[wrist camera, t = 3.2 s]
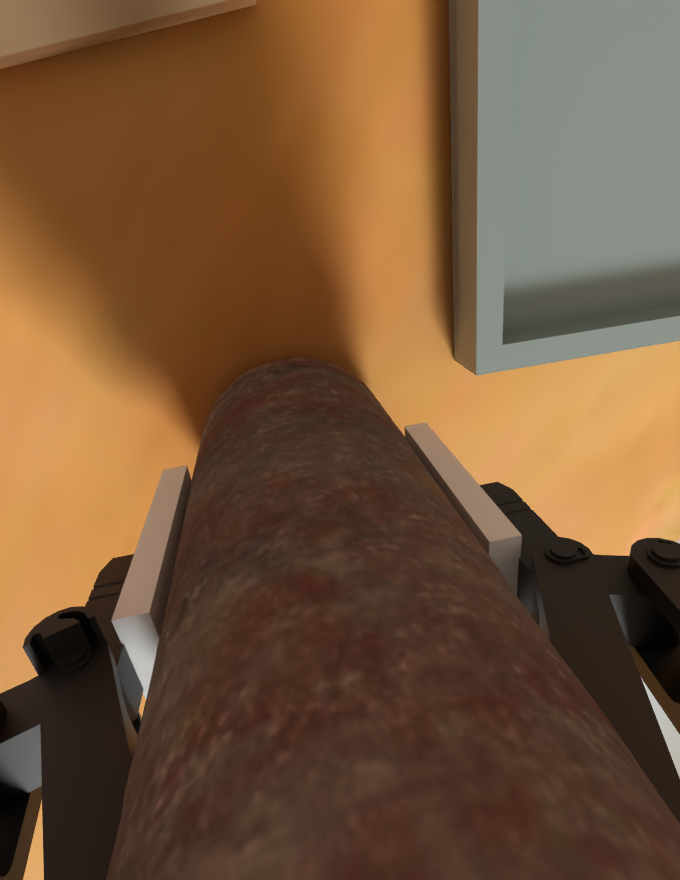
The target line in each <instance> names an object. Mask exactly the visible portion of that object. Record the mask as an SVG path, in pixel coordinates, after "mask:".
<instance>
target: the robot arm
mask: <svg viewBox="0 0 680 880" xmlns="http://www.w3.org/2000/svg"><path fill="white" fill-rule="evenodd" d="M405 438H406V440H407V441H408V443H409V444H410V446H411V448H412V449H413V450H414V452H415V453H416V455H417V456H418V457H419V459H420V460H421V462H422V463H423V464H424V466H425V467H426V469H427V470H428V471H429V473H430V474H431V476H432V477H433V479H434V480H435V481H436V483H437V484H438V486H439V487H440V488H441V489H442V491H443V492H444V493H445V495H446V496H447V498H448V499H449V501H450V502H451V504H452V506H453V507H454V508H455V510H456V511H457V512H458V513H459V515H460V516H461V517H462V519H463V520H464V521H465V522H466V524H467V525H468V527H469V528H470V529H471V531H472V532H473V534H474V535H475V536H476V538H477V539H478V541H479V542H480V544H481V545H482V546H483V548H484V549H485V551H486V552H487V553H488V555H489V556H490V558H491V559H492V560H493V562H494V563H495V565H496V566H497V567H498V569H499V570H500V572H501V573H502V575H503V576H504V578H505V579H506V581H507V582H508V584H509V585H510V587H511V589H512V590H513V591H514V593H515V594H516V596H517V597H518V598H519V600H520V601H521V603H522V604H523V605H524V607H525V608H526V610H527V611H528V612H529V614H530V615H531V617H532V618H533V619H534V621H535V622H536V624H537V625H538V626H539V628H540V629H541V630H542V632H543V633H544V634H545V636H546V637H547V638H548V640H549V641H550V643H551V644H552V645H553V647H554V648H555V649H556V651H557V652H558V653H559V655H560V656H561V657H562V659H563V660H564V661H565V663H566V664H567V665H568V667H569V668H570V669H571V670H572V672H573V673H574V674H575V676H576V677H577V678H578V680H579V681H580V682H581V684H582V685H583V686H584V688H585V689H586V690H587V692H588V693H589V694H590V696H591V697H592V698H593V700H594V701H595V702H596V704H597V705H598V706H599V708H600V709H601V710H602V712H603V713H604V715H605V716H606V718H607V719H608V720H609V722H610V723H611V725H612V726H613V727H614V729H615V730H616V732H617V733H618V735H619V736H620V737H621V739H622V740H623V742H624V743H625V745H626V746H627V747H628V749H629V750H630V752H631V753H632V755H633V756H634V758H635V760H636V761H637V763H638V764H639V766H640V767H641V769H642V770H643V772H644V773H645V775H646V776H647V778H648V779H649V781H650V782H651V783H652V785H653V786H654V788H655V789H656V791H657V792H658V793H659V795H660V796H661V798H662V799H663V801H664V802H665V804H666V805H667V806H668V808H669V809H670V811H671V812H672V814H673V815H674V816H675V818H676V819H677V821H678V822H679V824H680V779H679V776H678V773H677V771H676V768H675V766H674V763H673V760H672V758H671V755H670V752H669V750H668V747H667V745H666V742H665V739H664V737H663V734H662V732H661V729H660V726H659V724H658V721H657V719H656V716H655V713H654V711H653V708H652V706H651V703H650V701H649V698H648V695H647V693H646V690H645V687H644V685H643V682H642V679H643V681H644V682H645V684H646V685H647V687H648V688H649V690H650V691H651V693H652V694H653V696H654V697H655V699H656V700H657V702H658V703H659V704H660V706H661V707H662V709H663V710H664V712H665V713H666V715H667V716H668V718H669V719H670V721H671V722H672V724H673V725H674V726H675V728H676V730H677V731H678V732H679V734H680V544H679V543H676V542H674V541H670V540H666V539H661V538H645V539H642V540H638V541H636V542H635V543H634V544H633V545H632V546H631V552H630V556H610V555H594V554H592V552H591V551H590V549H589V548H587V547H586V546H584V545H583V544H582V543H580V542H577V541H575V540H572V539H569V538H563V537H558V536H557V535H556V534H555V533H554V532H553V531H552V530H551V529H550V528H549V527H548V526H547V525H546V524H545V523H544V522H543V520H542V519H541V518H540V517H539V516H538V515H537V514H536V513H535V512H534V511H533V510H531V509H530V507H529V506H528V505H527V504H526V503H525V502H523V501H522V499H521V498H520V497H519V496H518V495H517V493H516V492H515V491H514V490H513V489H511V488H509V487H507V486H505V485H503V484H501V483H499V482H494V483H489V484H484V485H479V484H478V483H477V482H476V481H475V480H474V478H473V477H472V476H471V475H470V474H469V473H468V471H467V470H466V469H465V468H464V467H463V465H462V464H461V463H460V462H459V461H458V460H457V458H456V457H455V456H454V455H453V454H452V453H451V451H450V450H449V449H448V448H447V447H446V446H445V444H444V443H443V442H442V441H441V440H440V439H439V437H438V436H437V435H436V434H435V433H434V431H433V430H432V429H431V428H430V427H429V426H428V424H427V423H421V424H415V425H409V426H405ZM191 482H192V481H191V478H190V474H189V471H188V467H187V466H181V467H175V468H170V469H164V470H163V472H162V475H161V478H160V481H159V484H158V487H157V490H156V492H155V495H154V498H153V501H152V504H151V507H150V510H149V513H148V516H147V519H146V521H145V524H144V527H143V530H142V533H141V536H140V539H139V542H138V545H137V547H136V550H135V553H134V554H132V555H127V556H122V557H117V558H113V559H112V560H111V561H110V562H109V563H108V564H107V565H106V566H105V567H104V568H103V569H102V570H101V571H100V573H99V575H98V577H97V580H96V582H95V584H94V589H93V590H92V591H91V594H90V596H89V598H88V599H89V601H87V603H86V606H85V607H83V606H81V607H70V608H67V609H63V610H60V611H58V612H56V613H54V614H52V615H50V616H48V617H46V618H45V619H43V620H42V621H41V622H40V623H38V624H37V625H36V626H35V627H34V628H33V629H32V630H31V631H30V633H29V634H28V635H27V637H26V638H25V641H24V645H23V649H24V650H25V652H26V654H27V656H28V657H29V659H30V661H31V663H32V665H33V666H34V668H35V670H36V672H37V673H38V675H39V676H37V677H35V678H33V679H31V680H29V681H27V682H25V683H23V684H21V685H18V686H16V687H14V688H12V689H10V690H7V691H5V692H3V693H1V694H0V880H23V877H24V872H25V868H26V864H27V860H28V855H29V851H30V847H31V843H32V838H33V834H34V830H35V826H36V821H37V817H38V813H39V809H40V804H41V800H42V813H43V853H44V880H106V878H107V874H108V870H109V866H110V862H111V857H112V853H113V849H114V845H115V841H116V837H117V833H118V829H119V824H120V820H121V814H122V807H123V800H124V793H125V789H126V784H127V780H128V776H129V771H130V767H131V763H132V758H133V754H134V750H135V745H136V741H137V737H138V733H139V729H140V725H141V720H142V718H141V716H140V713H139V707H140V703H141V698H142V694H144V696H145V699H146V698H147V694H148V689H149V685H150V680H151V676H152V671H153V666H154V662H155V657H156V651H157V646H158V643H159V639H160V635H161V631H162V626H163V620H164V615H165V610H166V605H167V601H168V597H169V592H170V586H171V580H172V574H173V570H174V566H175V561H176V556H177V551H178V546H179V541H180V537H181V533H182V529H183V523H184V517H185V511H186V506H187V502H188V497H189V493H190V487H191ZM640 676H641V677H640ZM641 678H642V679H641Z"/></svg>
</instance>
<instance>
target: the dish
mask: <svg viewBox="0 0 680 880" xmlns="http://www.w3.org/2000/svg"><path fill="white" fill-rule="evenodd" d="M449 49H450V116H451V183H452V249H453V316H454V360H455V361H456V362H458V363H459V364H461V365H462V366H464V367H465V368H466V369H468V370H469V371H471V372H472V373H474V374H475V375H482V374H488V373H493V372H499V371H505V370H511V369H517V368H523V367H529V366H534V365H540V364H546V363H552V362H558V361H564V360H569V359H575V358H581V357H587V356H593V355H599V354H605V353H610V352H616V351H622V350H628V349H634V348H640V347H645V346H651V345H657V344H663V343H669V342H675V341H680V0H449Z"/></svg>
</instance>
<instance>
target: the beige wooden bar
mask: <svg viewBox="0 0 680 880" xmlns="http://www.w3.org/2000/svg"><path fill="white" fill-rule="evenodd" d="M254 5H256V0H0V69H3V68H7V67H11V66H15V65H19V64H22V63H26V62H30V61H34V60H38V59H42V58H46V57H50V56H54V55H58V54H62V53H66V52H70V51H74V50H78V49H82V48H86V47H90V46H94V45H98V44H102V43H106V42H110V41H114V40H118V39H122V38H126V37H130V36H134V35H138V34H142V33H146V32H150V31H154V30H158V29H162V28H166V27H170V26H174V25H178V24H182V23H186V22H190V21H194V20H198V19H202V18H206V17H210V16H214V15H218V14H222V13H226V12H230V11H234V10H238V9H242V8H246V7H250V6H254Z"/></svg>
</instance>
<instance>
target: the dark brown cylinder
mask: <svg viewBox="0 0 680 880" xmlns="http://www.w3.org/2000/svg"><path fill="white" fill-rule="evenodd" d="M106 880H680V824H679V822H678V821H677V819H676V818H675V816H674V815H673V814H672V812H671V811H670V809H669V808H668V806H667V805H666V804H665V802H664V801H663V799H662V798H661V796H660V795H659V793H658V792H657V791H656V789H655V788H654V786H653V785H652V783H651V782H650V781H649V779H648V778H647V776H646V775H645V773H644V772H643V770H642V769H641V767H640V766H639V764H638V763H637V761H636V760H635V758H634V756H633V755H632V753H631V752H630V750H629V749H628V747H627V746H626V745H625V743H624V742H623V740H622V739H621V737H620V736H619V735H618V733H617V732H616V730H615V729H614V727H613V726H612V725H611V723H610V722H609V720H608V719H607V718H606V716H605V715H604V713H603V712H602V710H601V709H600V708H599V706H598V705H597V704H596V702H595V701H594V700H593V698H592V697H591V696H590V694H589V693H588V692H587V690H586V689H585V688H584V686H583V685H582V684H581V682H580V681H579V680H578V678H577V677H576V676H575V674H574V673H573V672H572V670H571V669H570V668H569V667H568V665H567V664H566V663H565V661H564V660H563V659H562V657H561V656H560V655H559V653H558V652H557V651H556V649H555V648H554V647H553V645H552V644H551V643H550V641H549V640H548V638H547V637H546V636H545V634H544V633H543V632H542V630H541V629H540V628H539V626H538V625H537V624H536V622H535V621H534V619H533V618H532V617H531V615H530V614H529V612H528V611H527V610H526V608H525V607H524V605H523V604H522V603H521V601H520V600H519V598H518V597H517V596H516V594H515V593H514V591H513V590H512V589H511V587H510V585H509V584H508V582H507V581H506V579H505V578H504V576H503V575H502V573H501V572H500V570H499V569H498V567H497V566H496V565H495V563H494V562H493V560H492V559H491V558H490V556H489V555H488V553H487V552H486V551H485V549H484V548H483V546H482V545H481V544H480V542H479V541H478V539H477V538H476V536H475V535H474V534H473V532H472V531H471V529H470V528H469V527H468V525H467V524H466V522H465V521H464V520H463V519H462V517H461V516H460V515H459V513H458V512H457V511H456V510H455V508H454V507H453V506H452V504H451V502H450V501H449V499H448V498H447V496H446V495H445V493H444V492H443V491H442V489H441V488H440V487H439V486H438V484H437V483H436V481H435V480H434V479H433V477H432V476H431V474H430V473H429V471H428V470H427V469H426V467H425V466H424V464H423V463H422V462H421V460H420V459H419V457H418V456H417V455H416V453H415V452H414V450H413V449H412V448H411V446H410V444H409V443H408V441H407V440H406V438H405V437H404V435H403V434H402V432H401V431H400V430H399V429H398V427H397V426H396V425H395V423H394V422H393V421H392V419H391V418H390V416H389V415H388V414H387V413H386V411H385V410H384V408H383V407H382V405H381V404H380V403H379V401H378V400H377V399H376V398H375V396H374V395H373V394H372V393H371V391H370V390H369V389H368V387H367V386H366V385H365V384H364V383H363V382H361V381H360V380H358V379H357V378H356V377H355V376H353V375H352V374H350V373H349V372H347V371H346V370H344V369H343V368H341V367H339V366H336V365H334V364H332V363H329V362H326V361H322V360H319V359H315V358H311V357H306V358H298V357H294V358H291V359H279V360H276V361H273V362H270V363H266V364H264V365H261V366H258V367H255V368H253V369H251V370H249V371H247V372H245V373H243V374H241V375H240V376H239V377H238V378H237V379H235V380H234V381H233V382H232V383H231V384H230V385H229V386H228V387H227V388H226V389H225V390H224V391H223V392H222V393H221V394H220V395H219V397H218V398H217V399H216V401H215V402H214V404H213V405H212V407H211V409H210V412H209V414H208V416H207V420H206V424H205V428H204V431H203V434H202V438H201V442H200V447H199V451H198V455H197V460H196V465H195V469H194V473H193V477H192V482H191V487H190V493H189V497H188V502H187V506H186V511H185V517H184V523H183V529H182V533H181V537H180V541H179V546H178V551H177V556H176V561H175V566H174V570H173V574H172V580H171V586H170V592H169V597H168V601H167V605H166V610H165V615H164V620H163V626H162V631H161V635H160V639H159V643H158V646H157V651H156V657H155V662H154V666H153V671H152V676H151V680H150V685H149V689H148V694H147V698H146V703H145V707H144V711H143V716H142V720H141V725H140V729H139V733H138V737H137V741H136V745H135V750H134V754H133V758H132V763H131V767H130V771H129V776H128V780H127V784H126V789H125V793H124V800H123V807H122V814H121V820H120V824H119V829H118V833H117V837H116V841H115V845H114V849H113V853H112V857H111V862H110V866H109V870H108V874H107V878H106Z"/></svg>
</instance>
